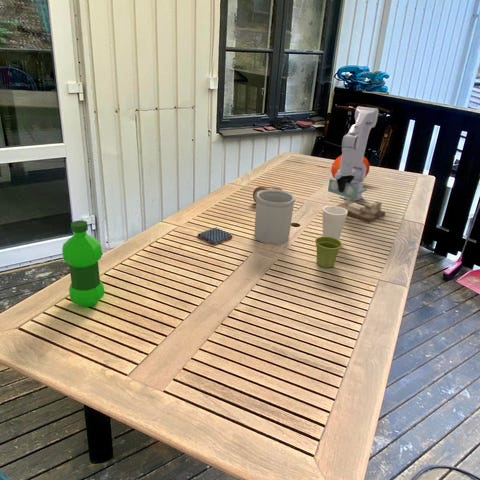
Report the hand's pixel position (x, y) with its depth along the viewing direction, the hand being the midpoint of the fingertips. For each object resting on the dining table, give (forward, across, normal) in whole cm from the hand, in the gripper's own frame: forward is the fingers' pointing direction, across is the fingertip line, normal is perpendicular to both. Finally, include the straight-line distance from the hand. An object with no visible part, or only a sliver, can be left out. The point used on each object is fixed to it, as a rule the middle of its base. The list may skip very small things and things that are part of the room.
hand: (342, 191), depth 202 cm
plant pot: (+10, +49, +27) cm, 56 cm away
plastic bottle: (+10, +123, -4) cm, 124 cm away
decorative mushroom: (+10, -42, -22) cm, 48 cm away
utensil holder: (+10, +47, 0) cm, 48 cm away
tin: (+10, +21, -26) cm, 35 cm away
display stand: (+9, -5, +7) cm, 13 cm away
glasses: (+2, -4, 0) cm, 4 cm away
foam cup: (+10, +31, +16) cm, 36 cm away
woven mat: (+10, +65, -14) cm, 68 cm away
